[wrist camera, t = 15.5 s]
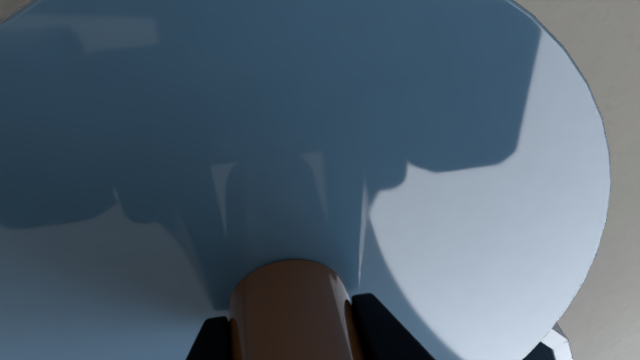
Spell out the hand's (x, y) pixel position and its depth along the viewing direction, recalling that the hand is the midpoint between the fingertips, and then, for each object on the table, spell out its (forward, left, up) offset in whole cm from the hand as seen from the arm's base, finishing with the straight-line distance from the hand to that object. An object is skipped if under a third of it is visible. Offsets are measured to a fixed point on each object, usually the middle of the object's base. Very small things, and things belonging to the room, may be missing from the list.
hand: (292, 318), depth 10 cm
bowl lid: (0, 0, -1) cm, 1 cm away
